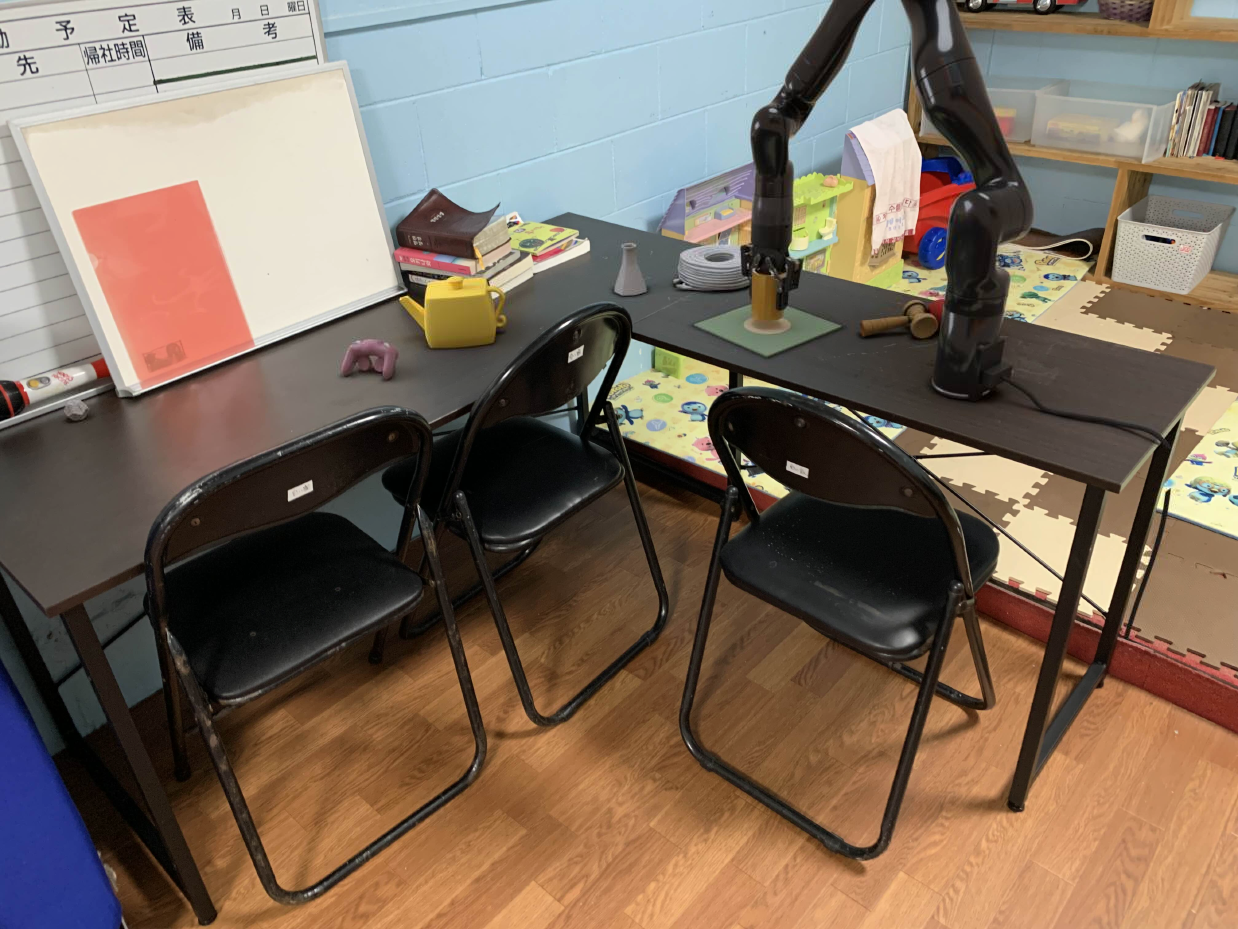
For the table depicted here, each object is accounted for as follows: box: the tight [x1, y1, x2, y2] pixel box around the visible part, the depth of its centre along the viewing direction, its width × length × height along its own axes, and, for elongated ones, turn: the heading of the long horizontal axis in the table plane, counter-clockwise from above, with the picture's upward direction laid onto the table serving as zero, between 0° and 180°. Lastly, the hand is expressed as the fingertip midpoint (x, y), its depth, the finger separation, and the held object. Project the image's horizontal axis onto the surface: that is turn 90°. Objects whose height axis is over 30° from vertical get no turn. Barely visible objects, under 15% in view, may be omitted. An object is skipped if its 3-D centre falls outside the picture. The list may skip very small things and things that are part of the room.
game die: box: [63, 398, 90, 422], centre depth 158 cm, size 4×4×3 cm
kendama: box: [859, 298, 945, 339], centre depth 173 cm, size 8×6×18 cm
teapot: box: [398, 275, 507, 349], centre depth 179 cm, size 20×12×12 cm, turn 96°
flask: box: [614, 242, 648, 296], centre depth 197 cm, size 7×7×10 cm
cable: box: [672, 244, 755, 292], centre depth 201 cm, size 18×18×6 cm
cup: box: [750, 269, 785, 321], centre depth 176 cm, size 6×6×9 cm
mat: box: [693, 303, 843, 358], centre depth 179 cm, size 20×20×1 cm
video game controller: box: [341, 338, 399, 380], centre depth 168 cm, size 10×5×7 cm, turn 74°
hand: (768, 304), depth 177 cm, fingers closed on cup, 6 cm apart
